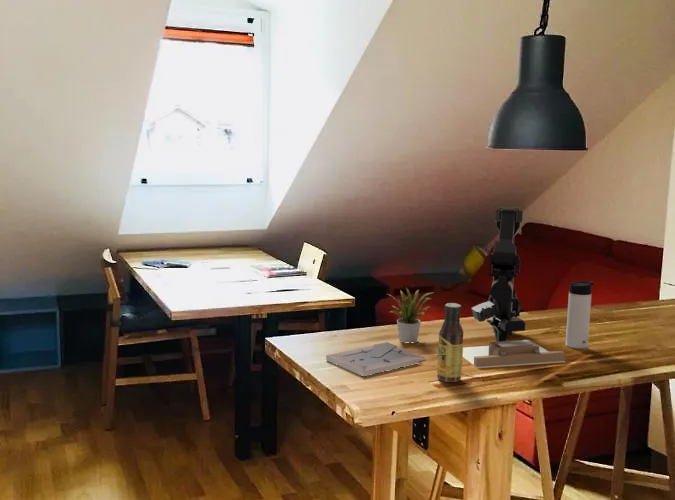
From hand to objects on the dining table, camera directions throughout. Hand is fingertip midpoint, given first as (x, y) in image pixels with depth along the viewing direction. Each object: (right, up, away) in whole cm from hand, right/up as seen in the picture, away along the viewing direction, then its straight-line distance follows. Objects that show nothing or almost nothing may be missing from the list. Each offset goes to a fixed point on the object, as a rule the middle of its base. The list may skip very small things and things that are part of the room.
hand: (499, 346), depth 223 cm
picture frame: (-36, -4, -10) cm, 37 cm away
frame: (+2, -2, -8) cm, 9 cm away
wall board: (+1, -2, -5) cm, 6 cm away
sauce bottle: (-18, -6, -24) cm, 30 cm away
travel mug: (+23, -1, +5) cm, 24 cm away
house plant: (-24, 0, +9) cm, 26 cm away
